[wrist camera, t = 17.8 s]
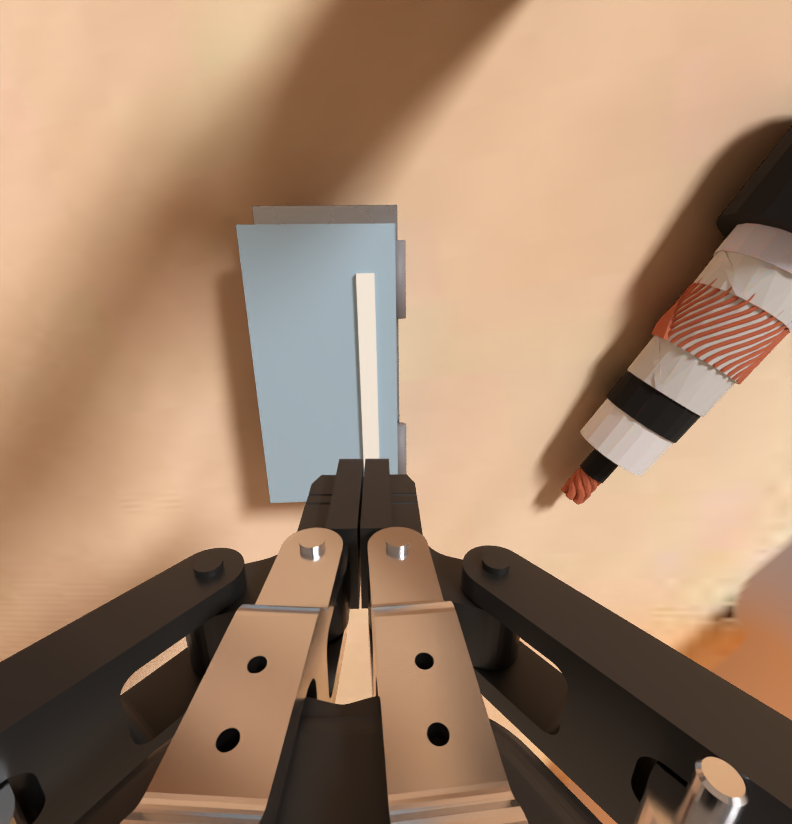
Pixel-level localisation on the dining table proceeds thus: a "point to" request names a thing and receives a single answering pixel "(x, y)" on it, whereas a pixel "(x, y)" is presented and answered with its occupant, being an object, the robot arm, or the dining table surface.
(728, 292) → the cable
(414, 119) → the dining table surface
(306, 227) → the cover
